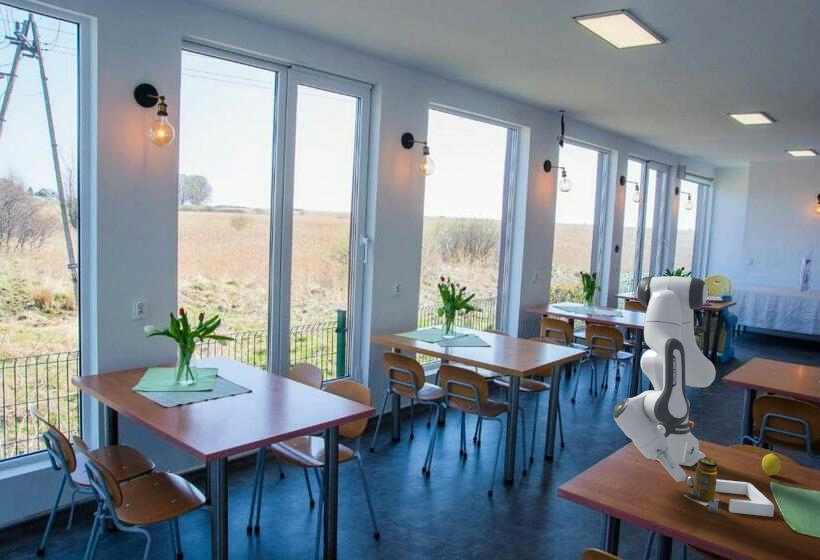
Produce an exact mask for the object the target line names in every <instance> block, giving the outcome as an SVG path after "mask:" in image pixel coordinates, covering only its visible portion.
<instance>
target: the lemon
mask: <svg viewBox="0 0 820 560" xmlns="http://www.w3.org/2000/svg"><path fill="white" fill-rule="evenodd" d="M761 467H762V469H763V471H764V473H766V474H767V475H768V476H769V477H770V476H773V475H776V474H778V473H779V472H780V470H781V460H780V459H779V457H778V456H777V455H776V454H774V453H773V452H772V453H768V454H766V455H764V457H763V458H762V461H761Z"/></svg>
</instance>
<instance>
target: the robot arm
mask: <svg viewBox="0 0 820 560" xmlns="http://www.w3.org/2000/svg"><path fill="white" fill-rule="evenodd" d="M708 296H709V291H708V287H707V284H706V282H705V281H704V280H703V279H701V278H697V277H687V276H677V275H672V276H668V275H667V276H653V275H650V276H644V277H642V278H641V279H640V280H639V281H638V284H637V287H636V297H637V301H638V302H639V304H641V306H644V308H646V313H645V318H644V325H643V326H644V327H643V338H644V342H645V344H646V345H647V346H648V347H649V348H650V349H648V350H646V351H645V352H643V354H642V355H641V357H640V368H641V371H642V373H643V374H644V375H646V377H647V378H648V379H649V381H650V382H651V385H652V386H653V389H652V390H645V391H642V392H641V393H640V394H638V395H636V396H634V397H629V398H623V399H621V400H620V401H619V402H618V403H617V404H616V405H615V407H614V409H613V412H612V416H613V417H612V418H613V419H614V421H615V423H616V424H617V426H618V427H619V428H620V430H621V431H622V432H623V433H624V435H625V436H626V437H627V438H629V439H631V441H632V443H633V444H634V445H635V447H636V448H637V449H638V450H639V451H640V452H641V454H642V455H643V457H645V458H646V459H650V460H654V461H658V462H660V464H661V465H662V466H663V467H664V469H665V470H666V471H667V472H668V473H669V475H670V476H671V477H672V478H673V479H674V480H675V481H676V482H677V483H680V482H684V481H685V480H686V479H687V478H688V474H687V473H686V472H685V470H684V468H682V467H681V466H687V467H693V466H695V465H696V464H698V460H699V459H702V458H704V459H706V454H705V453H703V452H702V451H700V450H699V449H700V442H699V440H698V438H696V437H695V435H693V433H692V432H691V429H690V428H694V426H695V422H694V421H691V420H689V413H690V400H689V399H688V396H687V392H686V391H687V390H686V388H687V387H686V386H688V387H692V388H693V387H694V388H707V387H710V385H711V384H713V382H715V378H716V373H717V371H716V368H715V365H714V364H713V362H712V361H711V360H709V359H708V358H707V357H706V356H705V355H704V353H703V352H702V351H701V349H700V348H699V346H698V344H697V342H696V338H695V329H694V322H695V321H694V310H698V309H699V310H700V309H701V308H703V307H704V306H705V305H706V302H707V300H708Z"/></svg>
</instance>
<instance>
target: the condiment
mask: <svg viewBox="0 0 820 560" xmlns="http://www.w3.org/2000/svg"><path fill="white" fill-rule="evenodd" d="M717 464H718V462H716V461H714V460H712V459H709V458H702V459H699V460H698V462H697V466H696V467H695V473H694V477H695V481H694V488H692V489H693V490H692V492H690V493H687V494H683V495H682V496H683V497H685V498H687V499H689V500H691V501H692V502H695V503H698V504H699V505H703V506H709V501H710V500H713V501H717V502H720V499H719V498H716V497H715V496H716V495H715V494H716V492H715V489H716V480H717V479H718V471H717V466H718V465H717Z"/></svg>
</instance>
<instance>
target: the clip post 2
mask: <svg viewBox="0 0 820 560" xmlns="http://www.w3.org/2000/svg"><path fill="white" fill-rule="evenodd" d="M718 509H719V501H717V502H716V501H713V500H710V501H709V504H708V509H707V510H708V512H709V513H710V514H715V515H716V514H718Z"/></svg>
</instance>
